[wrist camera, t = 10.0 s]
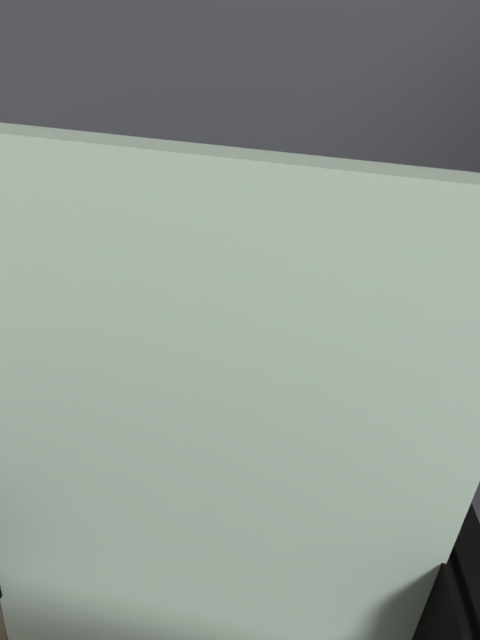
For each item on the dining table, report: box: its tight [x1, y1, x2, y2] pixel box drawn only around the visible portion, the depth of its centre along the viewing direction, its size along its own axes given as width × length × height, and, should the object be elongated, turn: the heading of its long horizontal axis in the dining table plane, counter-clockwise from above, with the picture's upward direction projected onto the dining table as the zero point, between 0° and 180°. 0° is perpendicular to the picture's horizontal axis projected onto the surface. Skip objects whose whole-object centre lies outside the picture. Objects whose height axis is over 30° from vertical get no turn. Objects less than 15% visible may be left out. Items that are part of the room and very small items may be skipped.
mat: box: [0, 0, 480, 523], centre depth 13 cm, size 22×16×1 cm
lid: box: [0, 122, 480, 640], centre depth 9 cm, size 13×7×3 cm, turn 175°
